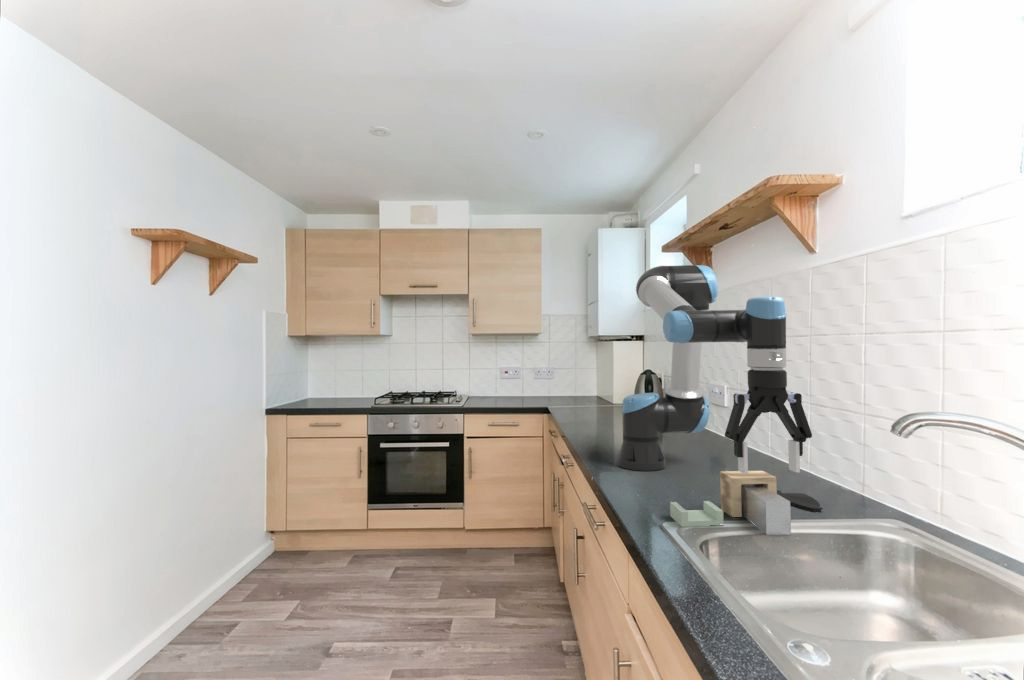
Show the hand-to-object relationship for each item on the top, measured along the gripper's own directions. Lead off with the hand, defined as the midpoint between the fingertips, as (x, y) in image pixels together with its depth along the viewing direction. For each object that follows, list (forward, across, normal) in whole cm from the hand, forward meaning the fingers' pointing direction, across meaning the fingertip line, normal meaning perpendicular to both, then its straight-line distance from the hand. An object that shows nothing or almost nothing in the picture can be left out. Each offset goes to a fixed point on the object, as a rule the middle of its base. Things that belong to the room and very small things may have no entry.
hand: (768, 471), depth 107 cm
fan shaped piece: (+13, +16, +16) cm, 26 cm away
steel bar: (+12, 0, +4) cm, 13 cm away
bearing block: (+12, 0, +9) cm, 15 cm away
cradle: (+12, -14, +5) cm, 19 cm away
